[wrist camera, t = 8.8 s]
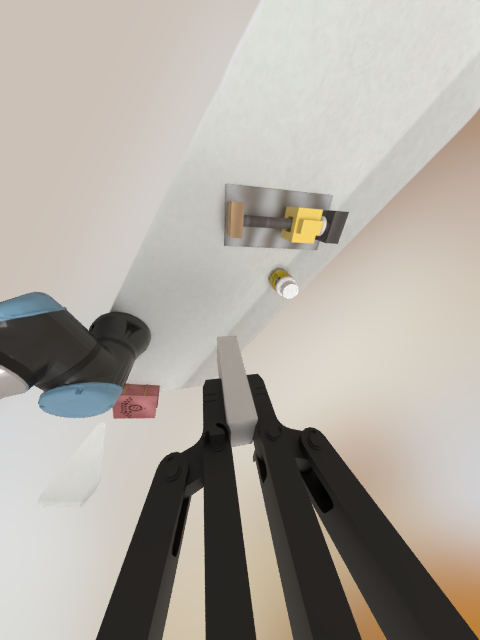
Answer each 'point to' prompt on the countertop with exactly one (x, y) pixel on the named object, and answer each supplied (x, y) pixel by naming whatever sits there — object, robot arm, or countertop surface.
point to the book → (137, 402)
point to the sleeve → (303, 224)
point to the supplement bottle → (283, 283)
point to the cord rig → (274, 217)
